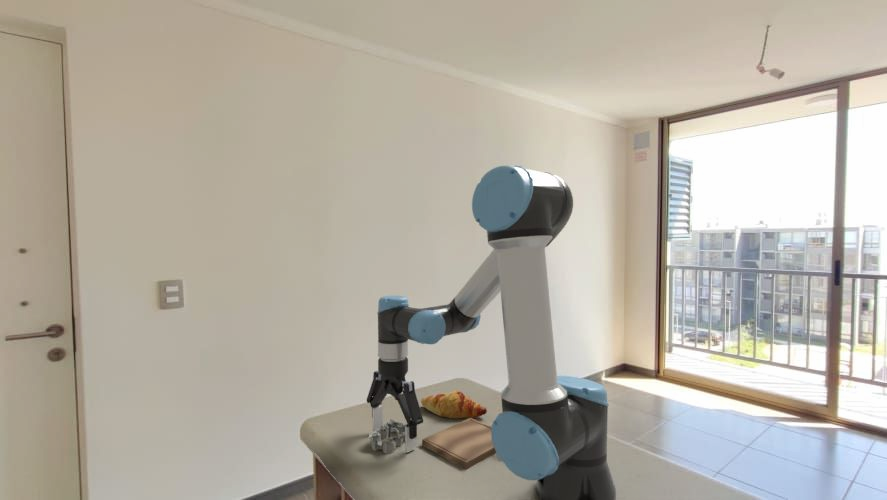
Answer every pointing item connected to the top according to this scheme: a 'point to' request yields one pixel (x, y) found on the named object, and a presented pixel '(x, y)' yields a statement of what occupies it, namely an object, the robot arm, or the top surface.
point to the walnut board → (462, 442)
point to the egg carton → (382, 433)
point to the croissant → (453, 405)
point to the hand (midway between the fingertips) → (393, 440)
